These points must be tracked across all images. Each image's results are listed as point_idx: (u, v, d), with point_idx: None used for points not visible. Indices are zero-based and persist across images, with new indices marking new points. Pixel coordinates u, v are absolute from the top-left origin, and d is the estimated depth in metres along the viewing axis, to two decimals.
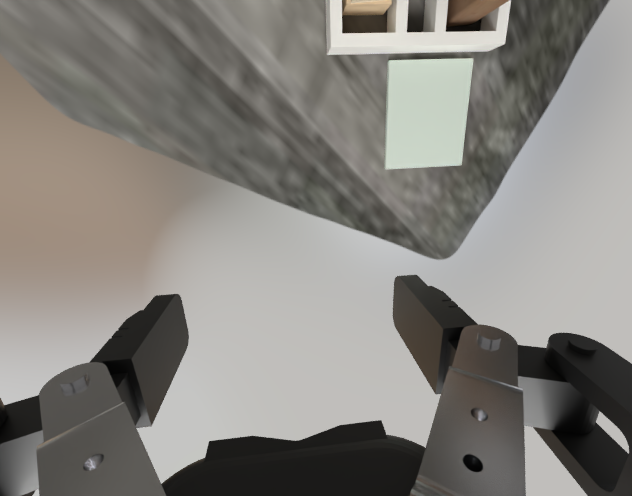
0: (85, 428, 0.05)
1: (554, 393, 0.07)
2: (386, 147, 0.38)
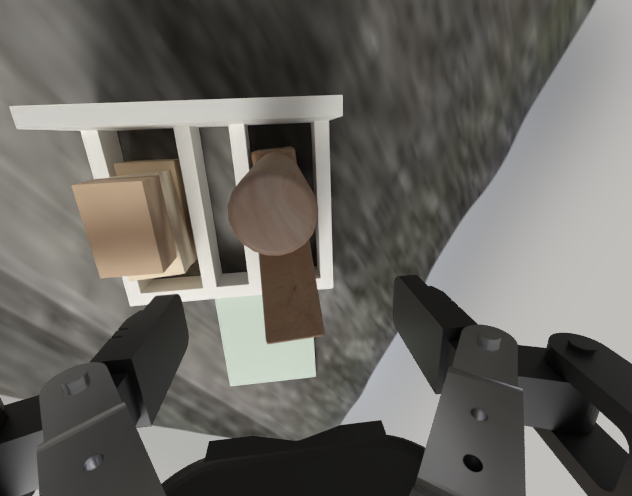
0: (85, 428, 0.05)
1: (554, 393, 0.07)
2: (227, 367, 0.35)
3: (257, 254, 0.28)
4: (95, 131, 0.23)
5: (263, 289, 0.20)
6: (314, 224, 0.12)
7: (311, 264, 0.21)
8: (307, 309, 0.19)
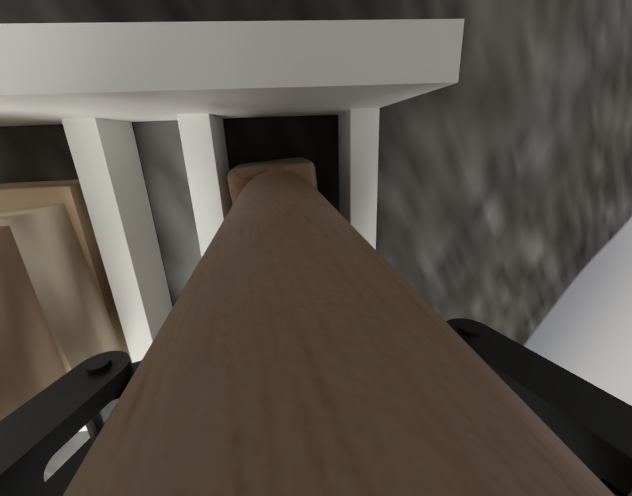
0: None
1: None
2: None
3: None
4: None
5: None
6: None
7: None
8: None
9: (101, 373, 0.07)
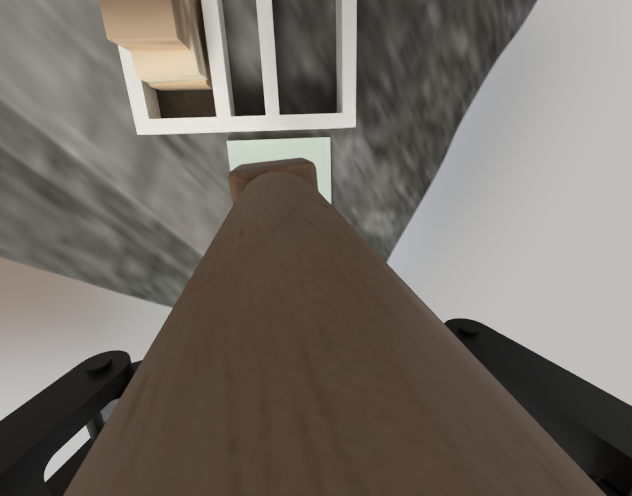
0: None
1: None
2: None
3: (275, 77, 0.26)
4: None
5: None
6: None
7: None
8: None
9: (101, 373, 0.07)
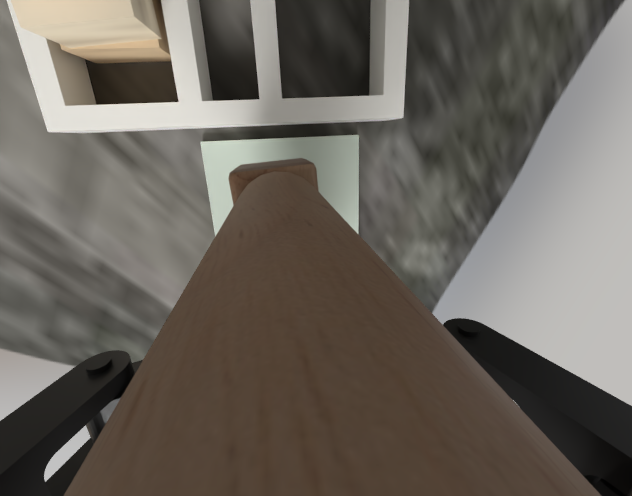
0: None
1: None
2: None
3: (275, 34, 0.16)
4: None
5: None
6: None
7: None
8: None
9: (101, 373, 0.07)
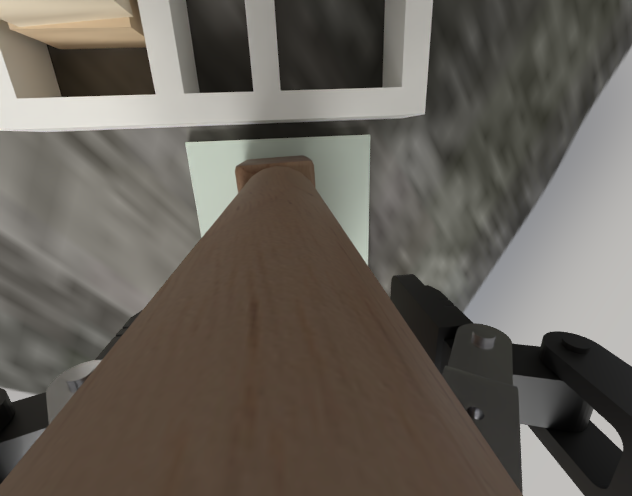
0: None
1: (548, 391, 0.07)
2: None
3: (272, 12, 0.13)
4: None
5: None
6: None
7: None
8: None
9: None
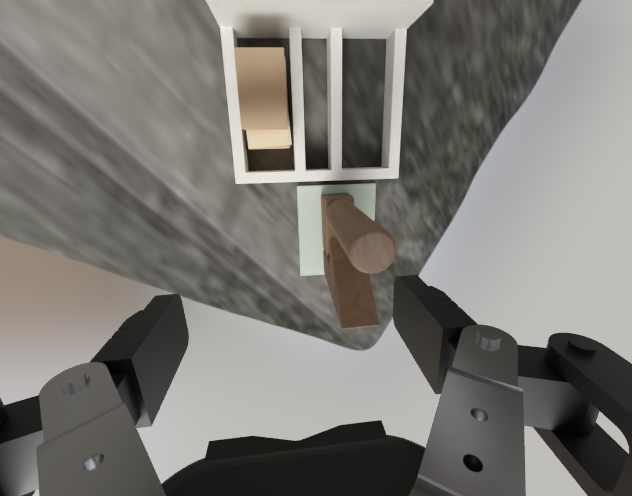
0: (85, 428, 0.05)
1: (554, 393, 0.07)
2: (300, 257, 0.41)
3: (340, 143, 0.35)
4: (231, 28, 0.31)
5: (338, 293, 0.30)
6: (393, 258, 0.23)
7: (369, 279, 0.31)
8: (367, 308, 0.30)
9: None
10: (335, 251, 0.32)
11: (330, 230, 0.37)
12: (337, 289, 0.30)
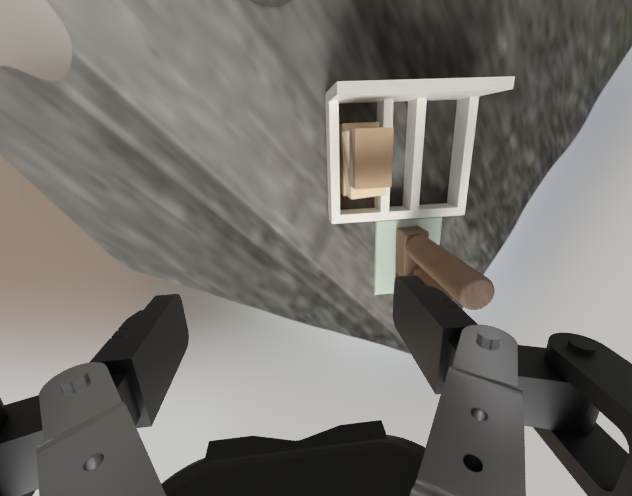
0: (85, 428, 0.05)
1: (554, 393, 0.07)
2: (375, 279, 0.48)
3: (419, 188, 0.42)
4: (337, 101, 0.37)
5: None
6: None
7: None
8: None
9: None
10: None
11: (408, 260, 0.44)
12: None
